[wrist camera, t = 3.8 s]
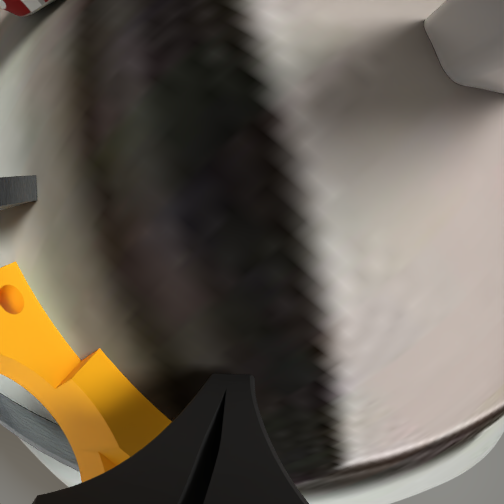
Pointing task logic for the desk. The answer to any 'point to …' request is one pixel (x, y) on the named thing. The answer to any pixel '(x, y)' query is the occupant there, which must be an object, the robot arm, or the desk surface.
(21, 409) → the frame
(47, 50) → the desk surface
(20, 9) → the soda can
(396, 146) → the desk surface
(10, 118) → the desk surface
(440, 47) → the power adapter
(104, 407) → the pipe clamp
